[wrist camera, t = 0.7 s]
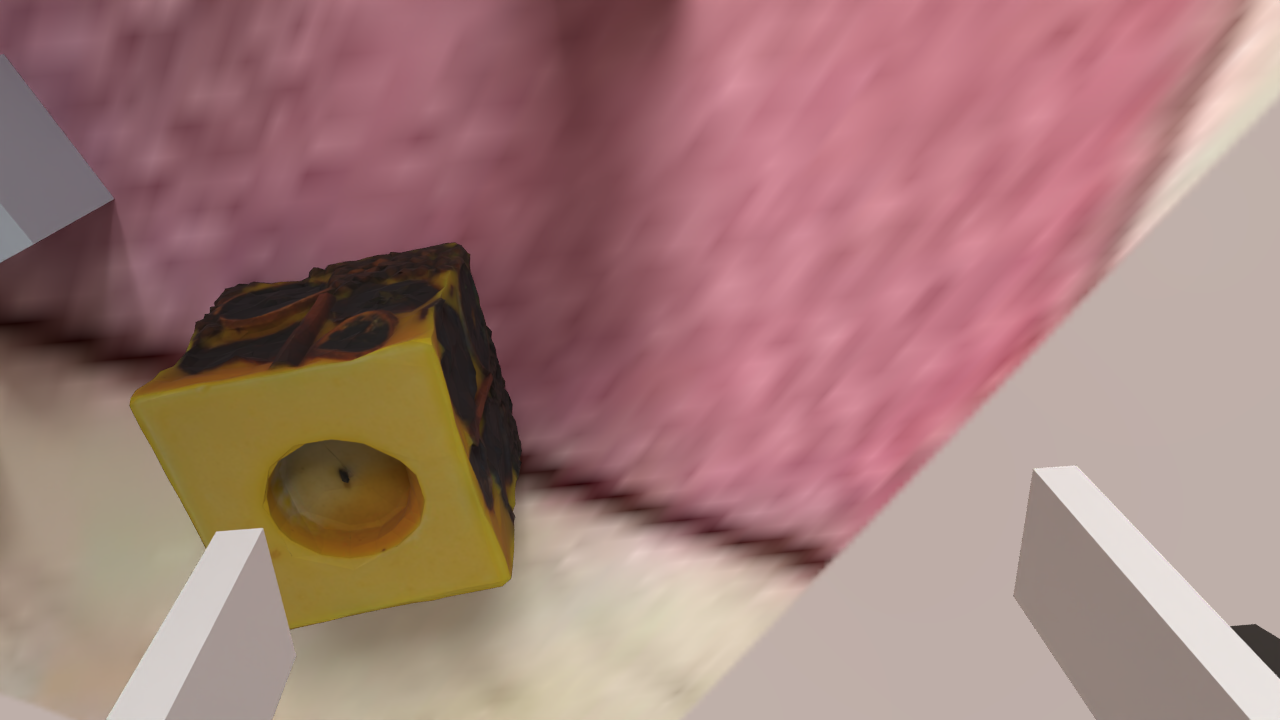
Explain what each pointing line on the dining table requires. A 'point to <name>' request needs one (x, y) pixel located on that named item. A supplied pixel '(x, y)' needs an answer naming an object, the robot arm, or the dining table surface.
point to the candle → (348, 432)
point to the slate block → (38, 170)
